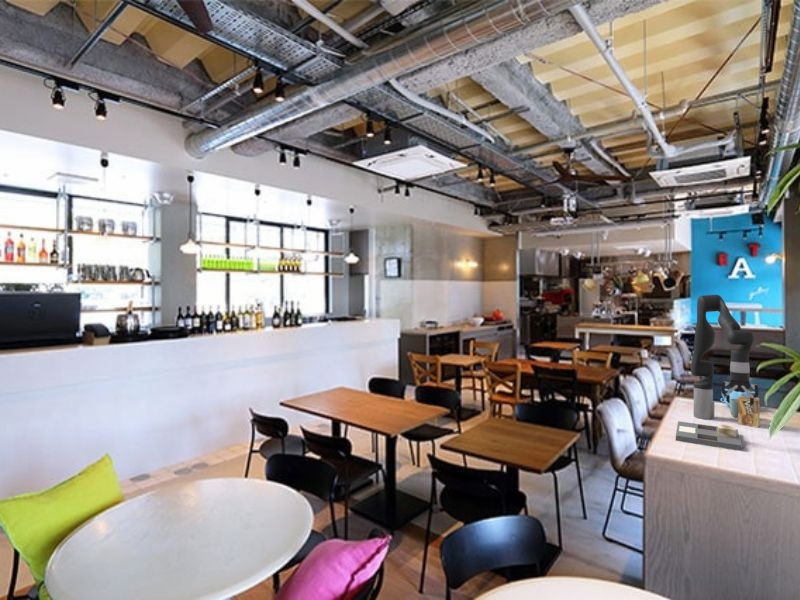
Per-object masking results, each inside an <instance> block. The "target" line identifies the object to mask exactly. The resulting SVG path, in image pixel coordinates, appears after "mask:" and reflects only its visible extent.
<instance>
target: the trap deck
mask: <svg viewBox="0 0 800 600" xmlns="http://www.w3.org/2000/svg"><path fill="white" fill-rule="evenodd" d="M739 433H740V432H739V430H738V429H737V428H736V438H729V437H723V436H718V425H717V426H715V425H708V424H699V423H693V422H687V421H679V420H678V422H677V426H676V432H675V441H678V442H683V443H690V444H696V445H704V446H710V447H715V448H721V449H728V450H734V451H742V450H743V449H742V448H743V446H742V442H741V438H740V434H739Z"/></svg>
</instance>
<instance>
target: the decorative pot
mask: <svg viewBox="0 0 800 600" xmlns="http://www.w3.org/2000/svg"><path fill="white" fill-rule="evenodd" d="M730 389H731V387H730V388H729V389H728V388H725V391H726V392H728V391H729V390H730ZM750 392H751V393H752V394H753V395H754V394H755V391H750ZM729 395H730V399H738V397H739V396H744V397H750V396H749V395H748V394H747V393H746V392H736V391H733V392H732V393H730V394H729ZM721 396H722V397H721V398H720V402H722V403H725V404H726V406H728V407H729V408H730V403H728V402H727V401H726V395H725V394H722V391H721ZM756 398H759V399H760V396H759V397H756Z"/></svg>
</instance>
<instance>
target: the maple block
mask: <svg viewBox="0 0 800 600" xmlns="http://www.w3.org/2000/svg"><path fill="white" fill-rule="evenodd" d="M717 427H718V436H723V437H729V438H736V429H737V428H736V426H733V425H728V424H727V425H726V424H719V423H718V424H717Z"/></svg>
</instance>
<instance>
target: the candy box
mask: <svg viewBox="0 0 800 600" xmlns="http://www.w3.org/2000/svg"><path fill="white" fill-rule="evenodd" d="M760 405H761V403H760V397H759V398H757V397H755V398H754V404H753V405H752V406H750V397H744V396H739V397H738V418H737V419H738V420H737V421H738V422H737V424H738V425H741V426H747V425H748V427H752V426H756V427H755V428H759V427H760V422H761V421H760V410H761V409H760ZM758 426H759V427H758Z"/></svg>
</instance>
